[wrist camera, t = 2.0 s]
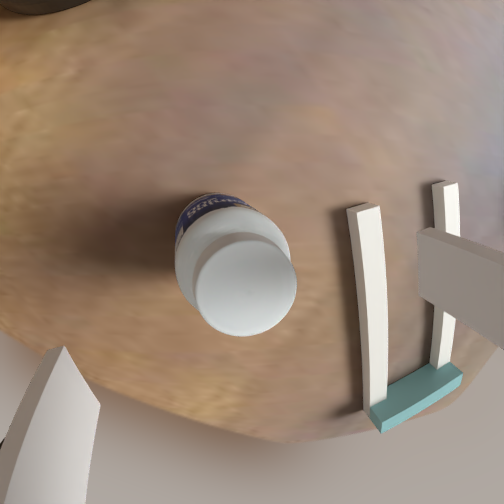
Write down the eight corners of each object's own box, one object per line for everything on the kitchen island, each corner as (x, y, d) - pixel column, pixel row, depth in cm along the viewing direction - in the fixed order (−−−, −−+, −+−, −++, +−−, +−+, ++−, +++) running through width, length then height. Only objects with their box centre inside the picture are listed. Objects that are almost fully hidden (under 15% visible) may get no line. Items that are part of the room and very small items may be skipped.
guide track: (346, 209, 23) (376, 219, 19) (446, 180, 24) (478, 187, 21) (363, 409, 30) (381, 433, 26) (439, 367, 32) (460, 385, 28)
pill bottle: (258, 192, 21) (322, 222, 12) (253, 270, 23) (305, 345, 13) (175, 190, 20) (174, 219, 11) (174, 271, 21) (178, 354, 12)
